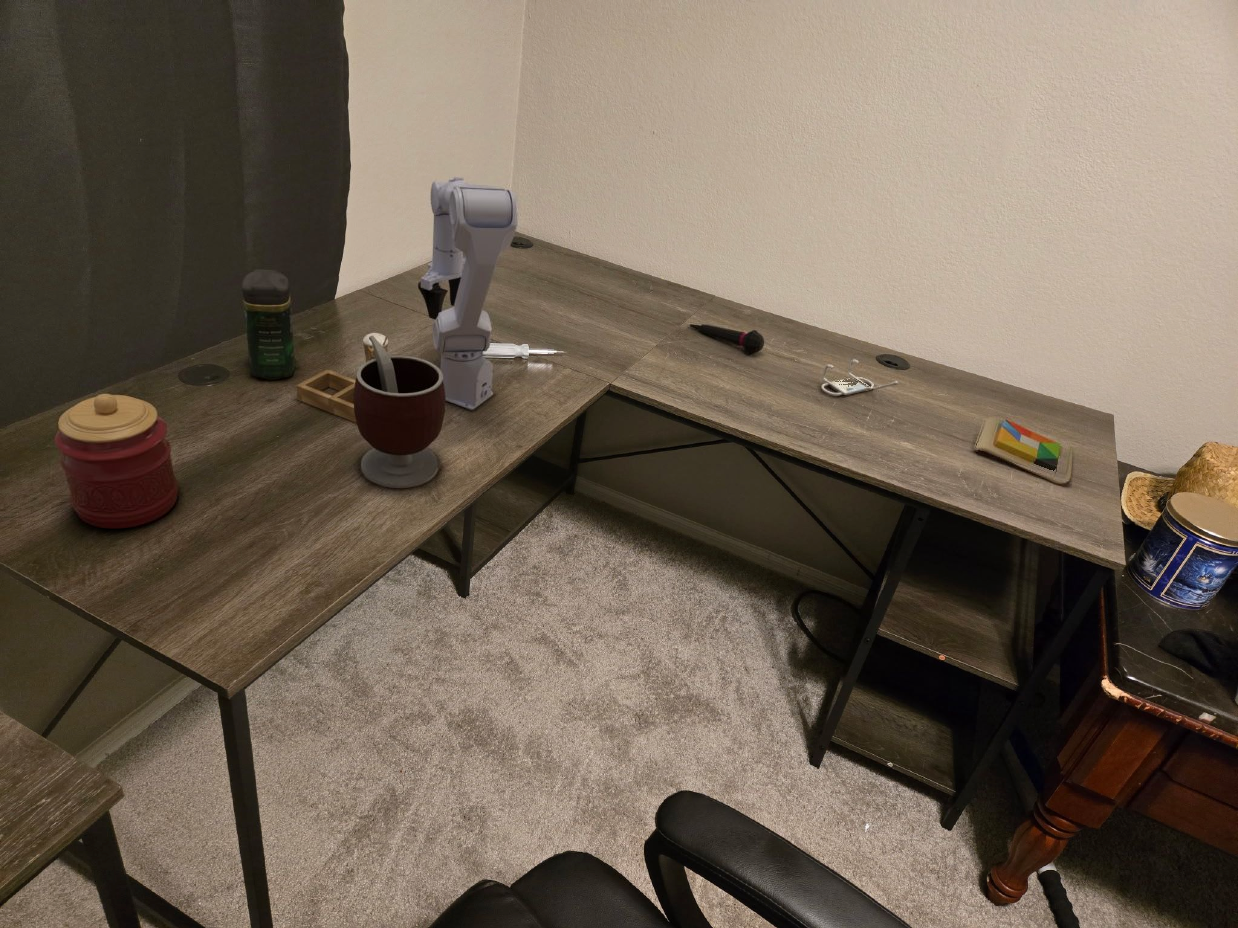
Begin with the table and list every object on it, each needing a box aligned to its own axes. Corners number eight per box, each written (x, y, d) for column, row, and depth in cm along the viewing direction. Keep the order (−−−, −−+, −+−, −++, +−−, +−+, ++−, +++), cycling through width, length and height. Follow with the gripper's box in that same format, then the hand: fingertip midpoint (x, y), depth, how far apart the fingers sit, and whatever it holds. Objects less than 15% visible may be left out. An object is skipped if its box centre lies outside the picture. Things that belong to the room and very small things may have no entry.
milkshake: (377, 388, 150) (376, 340, 145) (358, 377, 153) (357, 329, 147) (396, 381, 154) (396, 334, 148) (378, 370, 156) (377, 324, 151)
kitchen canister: (194, 481, 120) (177, 378, 110) (155, 535, 109) (132, 426, 99) (103, 472, 118) (77, 366, 109) (54, 525, 107) (21, 414, 98)
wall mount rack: (855, 374, 190) (862, 353, 187) (898, 402, 181) (907, 379, 178) (809, 384, 182) (817, 361, 178) (853, 413, 173) (861, 390, 170)
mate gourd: (459, 474, 132) (465, 367, 121) (384, 501, 123) (383, 388, 112) (408, 431, 140) (409, 327, 129) (334, 453, 131) (329, 343, 120)
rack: (394, 408, 145) (394, 394, 144) (366, 427, 139) (365, 412, 137) (327, 383, 149) (327, 369, 148) (297, 399, 143) (296, 385, 141)
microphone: (685, 340, 198) (757, 361, 189) (683, 321, 195) (757, 341, 185) (696, 329, 201) (768, 348, 192) (695, 309, 197) (768, 328, 188)
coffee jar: (295, 381, 148) (288, 287, 138) (249, 381, 145) (238, 286, 135) (296, 357, 155) (289, 266, 145) (251, 357, 153) (241, 264, 143)
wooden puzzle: (1066, 488, 160) (1074, 474, 158) (971, 453, 166) (978, 439, 164) (1070, 453, 173) (1077, 439, 171) (982, 421, 179) (988, 408, 178)
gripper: (451, 231, 158) (448, 295, 165) (407, 250, 146) (406, 317, 154) (482, 242, 156) (478, 305, 164) (439, 261, 144) (437, 329, 152)
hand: (445, 312), depth 159 cm, fingers open, 7 cm apart
